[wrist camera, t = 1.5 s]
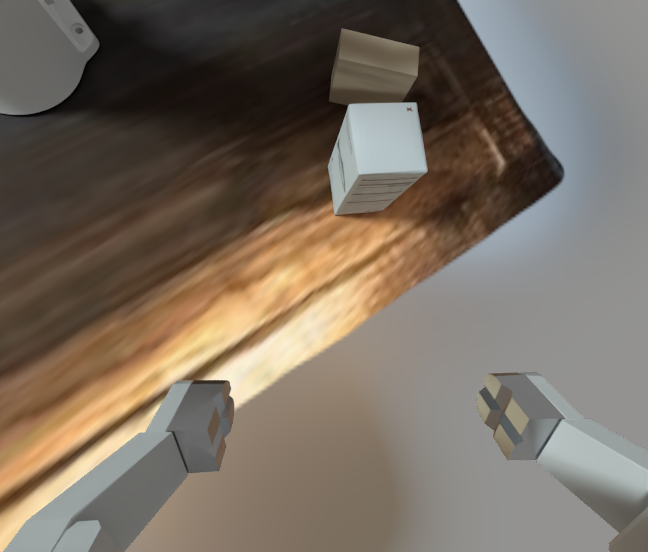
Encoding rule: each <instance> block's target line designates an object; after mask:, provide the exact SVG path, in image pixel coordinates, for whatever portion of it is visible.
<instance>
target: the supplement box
mask: <svg viewBox="0 0 648 552" xmlns="http://www.w3.org/2000/svg"><path fill="white" fill-rule="evenodd" d="M427 170H428V169H427V163H426V157H425V151H424V145H423V139H422V132H421V127H420V121H419V115H418V109H417V103H363V104H349V105H348V109H347V112H346V115H345V118H344V121H343V124H342V126H341V129H340V132H339V135H338V138H337V141H336V144H335V147H334V150H333V153H332V156H331V159H330V162H329V165H328V171H329V176H330V182H331V189H332V197H333V205H334V215H342V214H354V213H366V212H378V211H383V210H384V209H385V208H386V207H387V206H388V205H390V204H391V203H392V202H393V201H394V200H395V199H397V198H398V197H399V196H400V195H401V194H402V193H403V192H404V191H406V190H407V189H408V188H409V187H410V186H411V185H412V184H414V183H415V182H416V181H417V180H418V179H419V178H420V177H422V176H423V175H424V174H425V173H427Z"/></svg>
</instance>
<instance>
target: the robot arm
mask: <svg viewBox="0 0 648 552" xmlns="http://www.w3.org/2000/svg"><path fill="white" fill-rule="evenodd" d="M98 48H99V41H98V39H97V38H96V36H95V35H94V33H93V32H92V31H91V29H90V28H89V26H88V25H87V24H86V22H85V21H84V19H83V18H82V16H81V15H80V14H79V12H78V11H77V9H76V8H75V7H74V5H73V4H72V2H71V1H70V0H0V113H3V114H10V115H26V114H33V113H38V112H41V111H44V110H47V109H50V108H52V107H54V106H56V105H58V104H59V103H61V102H62V101H63V100H65V99H66V98H67V97H68V96H69V95H70V94H71V93H72V92H73V91H74V89H75V88H76V87H77V85H78V83H79V81H80V79H81V76H82V73H83V70H84V67H85V64H86V62H87V61H88V60H89V59H90V58H91V57H92V56H93V55H94V54H95V53H96V51H97V50H98ZM483 384H484V386H485V388H483V389H482V390H481V391H480V392H479V393H478V396H477V399H476V401H477V409H478V412H479V414H480V416H481V418H482V420H483V421H484V423H485V424H486V425H487V426H489V427H490V428H492V429H493V430H494V434H493V438H494V439H495V441H496V443H497V444H498V446H499V447H500V449H501V451H502V452H503V454H504V455H505V457H506V459H507V460H536V462H537V463H539V464H540V465H541V466H542V467H543V468H544V469H545V470H547V471H548V472H549V473H550V474H551V475H552V476H554V477H555V478H556V479H557V480H558V481H559V482H561V483H562V484H563V485H564V486H565V487H566V488H568V489H569V490H570V491H571V492H572V493H574V494H575V495H576V496H577V497H578V498H579V499H580V500H582V501H583V502H584V503H585V504H586V505H587V506H589V507H590V508H591V509H592V510H593V511H595V512H596V513H597V514H598V515H599V516H600V517H601V518H603V519H604V520H605V521H606V522H607V523H609V524H610V525H611V526H612V527H613V528H614V529H616V530H617V531H618V532H619V534H618V535H617V536H616V537H615V538H614V539H613V540H612V541H611V542H610V543H609V550H610V552H648V450H646V449H644V448H642V447H640V446H639V445H637V444H635V443H633V442H631V441H630V440H627V439H626V438H624V437H622V436H621V435H619V434H617V433H615V432H613V431H612V430H610V429H608V428H606V427H604V426H603V425H601V424H599V423H597V422H595V421H594V420H592V419H586V418H584V417H583V416H582V415H581V414H580V413H579V412H578V411H577V410H576V409H575V408H574V407H573V406H572V405H571V404H570V403H569V402H568V401H567V400H566V399H565V398H564V397H563V396H562V395H561V394H560V393H559V392H558V391H557V390H556V389H555V388H554V387H553V386H552V385H551V384H550V383H549V382H548V381H547V380H546V379H545V378H544V377H543V376H542V375H540V374H538V373H536V372H532V373H531V372H530V373H495V374H488V375H486V376H485V378H484V380H483ZM230 390H231V387H230V383H229V381H227V380H194V381H177V382H176V383H174V384H173V385H172V387H171V389H170V390H169V392H168V394H167V396H166V397H165V399H164V401H163V403H162V404H161V406H160V408H159V409H158V411H157V413H156V415H155V416H154V418H153V420H152V422H151V423H150V425H149V427H148V428H147V430H146V432H145V433H139V434H137V435H136V436H135V437H134V438H132V439H131V440H130V441H128V442H127V443H126V444H125V445H123V446H122V447H121V448H119V449H118V450H117V451H116V452H114V453H113V454H112V455H111V456H109V457H108V458H107V459H105V460H104V461H103V462H102V463H100V464H99V465H98V466H96V467H95V468H94V469H93V470H91V471H90V472H89V473H87V474H86V475H85V476H84V477H82V478H81V479H80V480H78V481H77V482H76V483H75V484H73V485H72V486H71V487H69V488H68V489H67V490H66V491H64V492H63V493H62V494H61V495H59V496H58V497H57V498H55V499H54V500H53V501H52V502H50V503H49V504H48V505H46V506H45V507H44V508H43V509H41V510H40V511H39V512H37V513H36V514H35V515H34V516H32V517H31V518H30V519H28V520H27V521H26V522H25V524H24V525H23V526H22V528H21V529H20V530H19V532H18V533H17V534H16V536H15V537H14V538H13V539H12V541H11V542H10V543H9V545H8V546H7V547H6V549H5V550H4V551H3V552H124V551H125V550H126V549H127V548H128V547H129V546H130V544H131V543H132V542H133V541H134V539H135V538H136V537H137V536H138V535H139V534H140V532H141V531H142V530H143V529H144V527H145V526H146V525H147V524H148V523H149V522H150V520H151V519H152V518H153V517H154V516H155V514H156V513H157V512H158V511H159V510H160V508H161V507H162V506H163V505H164V503H165V502H166V501H167V500H168V499H169V497H170V496H171V495H172V494H173V493H174V492H175V490H176V489H177V488H178V487H179V486H180V484H181V483H182V482H183V481H184V480H185V478H186V477H187V476H188V473H198V472H213V471H219V470H220V467H221V463H222V460H223V456H224V453H225V449H226V444H225V439H224V438H225V437H226V436H227V435H228V434H229V433H230V431H231V428H232V424H233V418H234V401H233V398H231V397H230V396H229V394H230Z"/></svg>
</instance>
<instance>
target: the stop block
mask: <svg viewBox="0 0 648 552" xmlns="http://www.w3.org/2000/svg"><path fill="white" fill-rule="evenodd" d="M418 60H419V47H416V46H412V45H408V44H404V43H400V42H396V41H392V40H388V39H384V38H379V37H375V36H371V35H367V34H363V33H359V32H355V31H351V30H347V29H343V28H342V30H341V34H340V39H339V44H338V48H337V53H336V58H335V62H334V67H333V72H332V76H331V86H330V96H329V102H334V103H339V104H344V105H349V104H363V103H402V101H403V100H404V98H405V96H406V95H407V93H408V91H409V90H410V88H411V86H412V85H413V83H414V81H415V80H416V78H417V76H418Z"/></svg>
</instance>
